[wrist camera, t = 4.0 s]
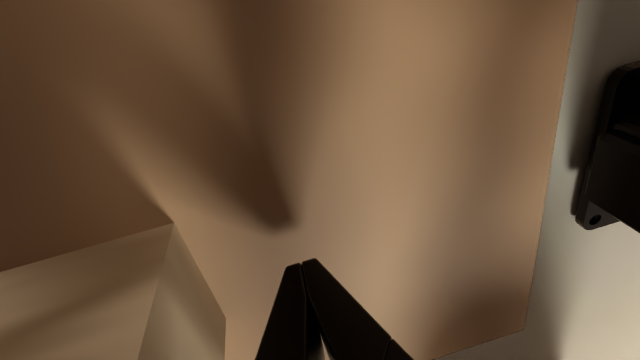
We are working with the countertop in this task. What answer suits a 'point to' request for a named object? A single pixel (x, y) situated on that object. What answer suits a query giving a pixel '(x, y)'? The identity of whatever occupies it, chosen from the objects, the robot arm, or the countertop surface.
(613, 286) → the countertop surface
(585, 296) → the countertop surface
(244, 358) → the board
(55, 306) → the block
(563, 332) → the countertop surface
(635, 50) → the countertop surface
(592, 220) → the robot arm
